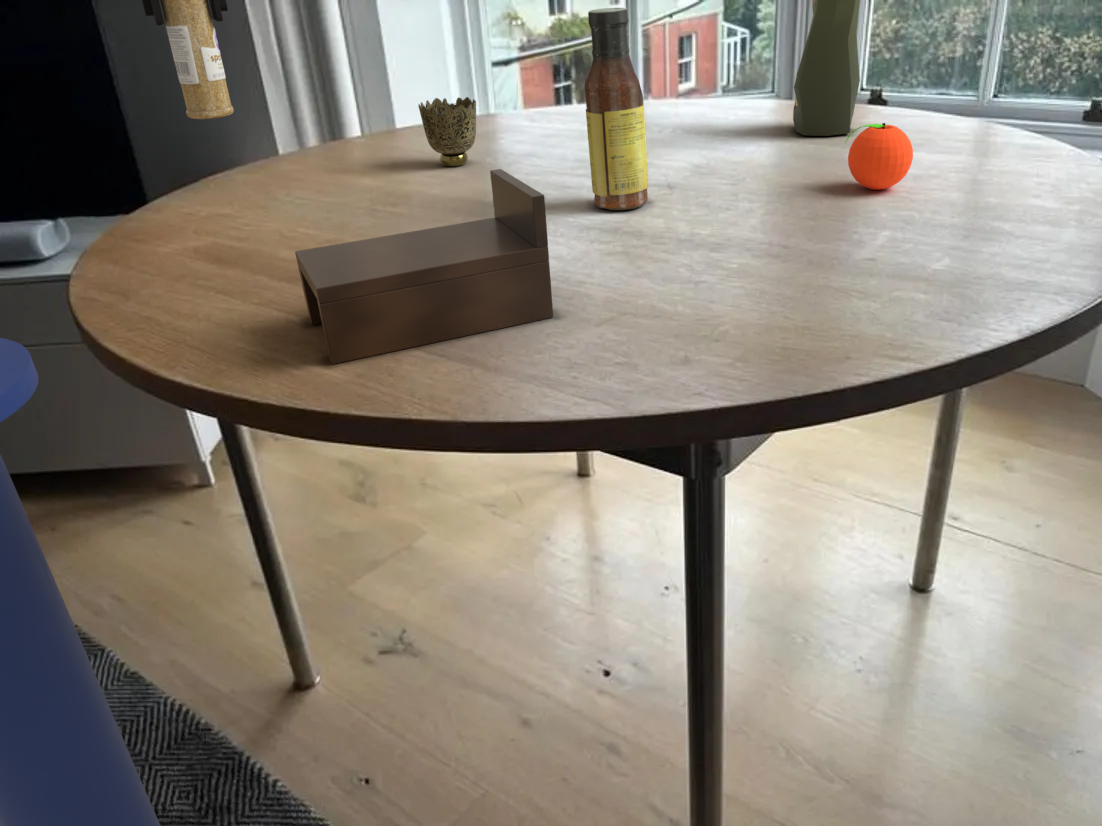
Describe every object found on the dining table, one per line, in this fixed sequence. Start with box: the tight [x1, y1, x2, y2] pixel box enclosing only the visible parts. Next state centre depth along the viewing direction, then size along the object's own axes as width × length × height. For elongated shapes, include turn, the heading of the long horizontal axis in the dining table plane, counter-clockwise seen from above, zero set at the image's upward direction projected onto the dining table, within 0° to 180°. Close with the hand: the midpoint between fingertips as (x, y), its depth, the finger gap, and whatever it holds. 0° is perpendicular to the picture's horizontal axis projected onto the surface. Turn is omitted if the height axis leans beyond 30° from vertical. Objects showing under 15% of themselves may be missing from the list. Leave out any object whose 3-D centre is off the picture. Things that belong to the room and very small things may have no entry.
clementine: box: [844, 122, 914, 191], centre depth 103 cm, size 8×7×7 cm
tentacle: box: [792, 0, 861, 137], centre depth 123 cm, size 9×12×30 cm
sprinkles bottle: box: [159, 0, 235, 120], centre depth 90 cm, size 5×5×14 cm
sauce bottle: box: [584, 7, 649, 211], centre depth 99 cm, size 7×6×20 cm
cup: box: [418, 96, 477, 167], centre depth 122 cm, size 8×7×8 cm
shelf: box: [294, 168, 554, 365], centre depth 74 cm, size 18×10×10 cm, turn 115°
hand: (188, 20), depth 89 cm, fingers closed on sprinkles bottle, 4 cm apart
